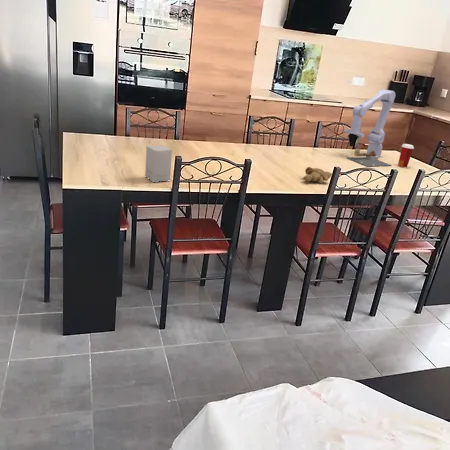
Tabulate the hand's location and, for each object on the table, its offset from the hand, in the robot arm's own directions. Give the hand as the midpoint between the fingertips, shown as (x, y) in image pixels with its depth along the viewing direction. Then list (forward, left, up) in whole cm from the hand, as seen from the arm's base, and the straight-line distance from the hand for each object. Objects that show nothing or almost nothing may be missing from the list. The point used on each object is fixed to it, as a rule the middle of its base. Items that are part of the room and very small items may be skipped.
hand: (351, 145), depth 293 cm
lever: (-7, +6, -5) cm, 11 cm away
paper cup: (-26, +22, -8) cm, 35 cm away
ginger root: (+60, +40, -8) cm, 73 cm away
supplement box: (+143, +28, -8) cm, 146 cm away
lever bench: (-7, +12, -8) cm, 16 cm away
